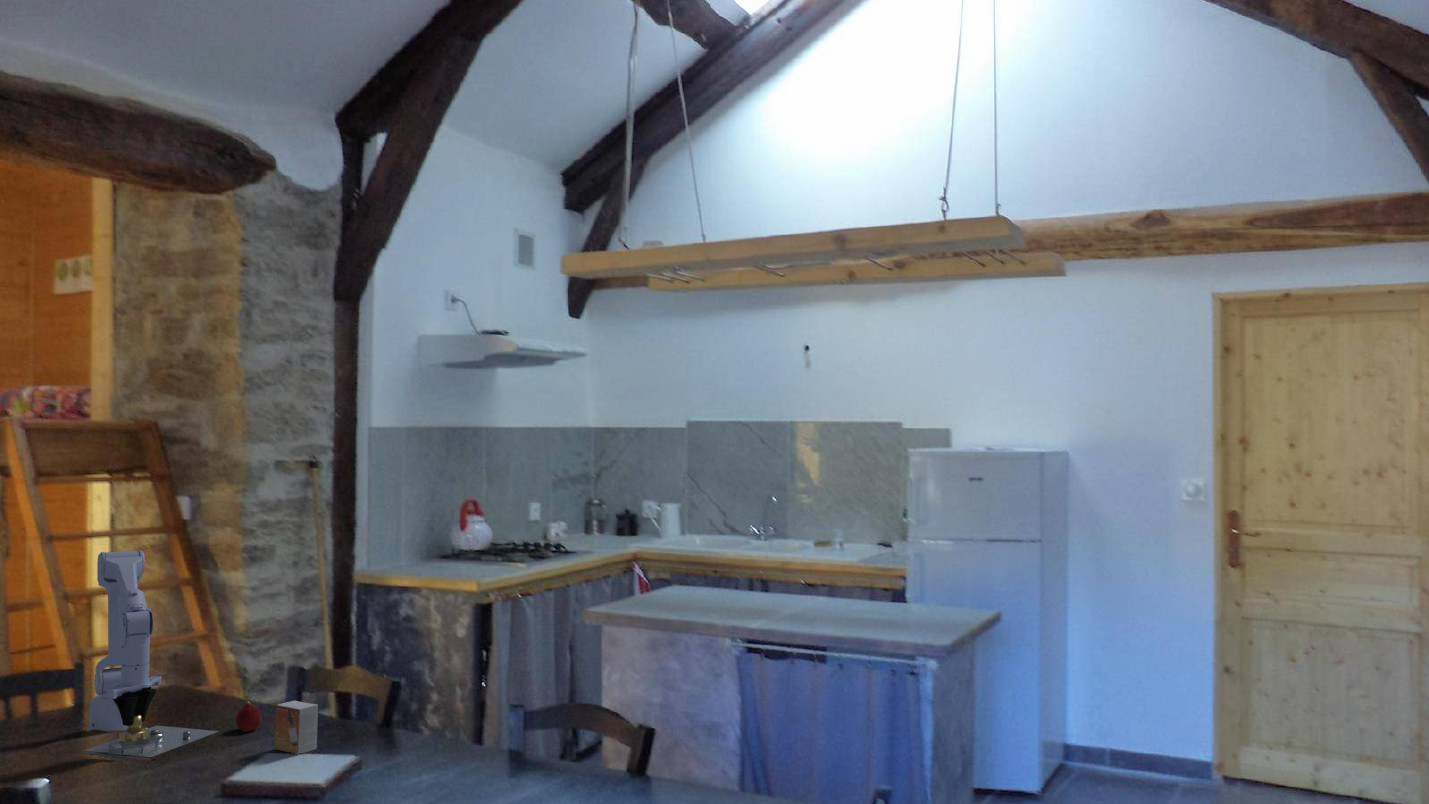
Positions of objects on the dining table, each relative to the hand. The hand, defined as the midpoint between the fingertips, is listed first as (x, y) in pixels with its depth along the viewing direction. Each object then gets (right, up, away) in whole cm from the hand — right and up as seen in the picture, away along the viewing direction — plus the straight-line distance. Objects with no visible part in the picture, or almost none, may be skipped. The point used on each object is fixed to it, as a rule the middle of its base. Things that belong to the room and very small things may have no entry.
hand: (133, 723), depth 250 cm
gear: (0, -3, 0) cm, 3 cm away
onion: (+20, -8, +16) cm, 26 cm away
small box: (+36, -7, +4) cm, 37 cm away
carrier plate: (+2, -7, +6) cm, 9 cm away
